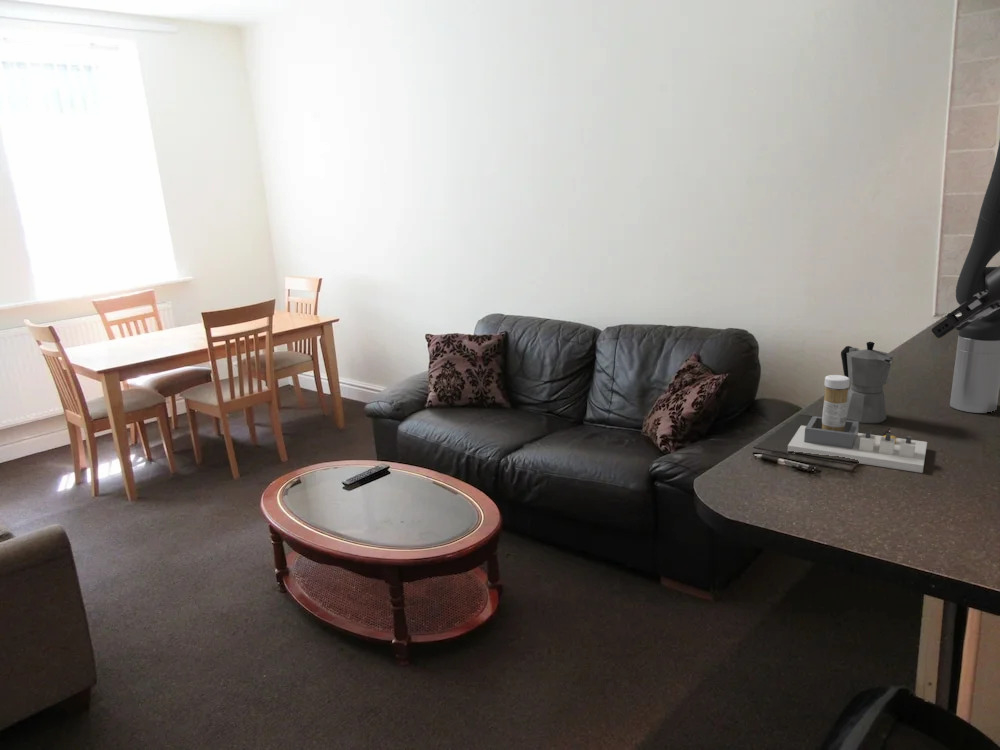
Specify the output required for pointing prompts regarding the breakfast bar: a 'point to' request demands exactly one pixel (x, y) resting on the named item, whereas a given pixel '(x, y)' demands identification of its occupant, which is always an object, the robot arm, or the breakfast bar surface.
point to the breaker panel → (864, 454)
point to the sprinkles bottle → (835, 402)
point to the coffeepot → (866, 383)
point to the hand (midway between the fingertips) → (945, 330)
